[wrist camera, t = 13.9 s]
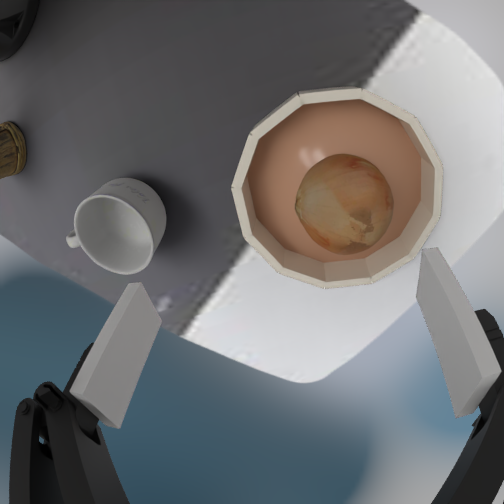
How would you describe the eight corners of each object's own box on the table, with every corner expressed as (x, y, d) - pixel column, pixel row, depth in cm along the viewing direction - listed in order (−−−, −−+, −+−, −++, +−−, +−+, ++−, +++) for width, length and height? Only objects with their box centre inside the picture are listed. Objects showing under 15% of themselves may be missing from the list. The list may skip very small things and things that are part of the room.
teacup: (170, 168, 36) (142, 193, 29) (180, 245, 41) (159, 281, 35) (81, 173, 37) (45, 197, 30) (97, 240, 43) (69, 271, 36)
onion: (286, 153, 32) (283, 184, 24) (375, 138, 29) (406, 165, 21) (303, 230, 37) (305, 283, 28) (384, 217, 34) (408, 266, 26)
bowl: (223, 104, 31) (212, 110, 26) (420, 84, 26) (439, 87, 22) (261, 270, 42) (257, 294, 38) (420, 253, 37) (433, 275, 33)
